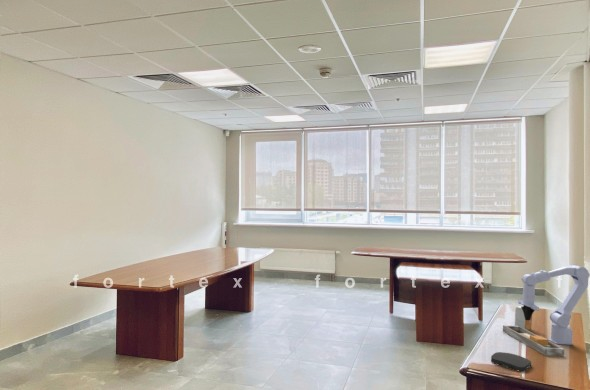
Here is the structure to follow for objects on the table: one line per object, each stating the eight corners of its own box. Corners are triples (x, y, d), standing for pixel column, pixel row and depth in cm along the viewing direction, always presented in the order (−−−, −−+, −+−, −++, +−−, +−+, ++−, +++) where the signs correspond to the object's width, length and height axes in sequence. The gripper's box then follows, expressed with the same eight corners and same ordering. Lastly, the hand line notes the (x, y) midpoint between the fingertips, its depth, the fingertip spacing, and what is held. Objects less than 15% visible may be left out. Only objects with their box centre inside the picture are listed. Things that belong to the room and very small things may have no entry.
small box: (524, 331, 235) (526, 309, 235) (514, 328, 240) (515, 306, 240) (531, 329, 239) (532, 308, 240) (521, 326, 245) (522, 305, 245)
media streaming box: (500, 355, 193) (500, 349, 193) (533, 365, 182) (533, 359, 182) (488, 362, 183) (488, 356, 183) (522, 373, 172) (523, 367, 172)
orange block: (540, 341, 211) (540, 335, 211) (547, 345, 205) (548, 339, 205) (529, 340, 211) (529, 335, 211) (536, 345, 205) (537, 339, 205)
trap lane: (519, 332, 232) (519, 326, 232) (563, 356, 196) (564, 349, 197) (502, 331, 232) (503, 325, 232) (544, 355, 196) (545, 348, 196)
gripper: (513, 292, 229) (512, 315, 228) (530, 298, 214) (529, 323, 214) (525, 293, 229) (524, 316, 229) (542, 299, 215) (541, 324, 214)
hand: (527, 319), depth 221 cm, fingers closed
